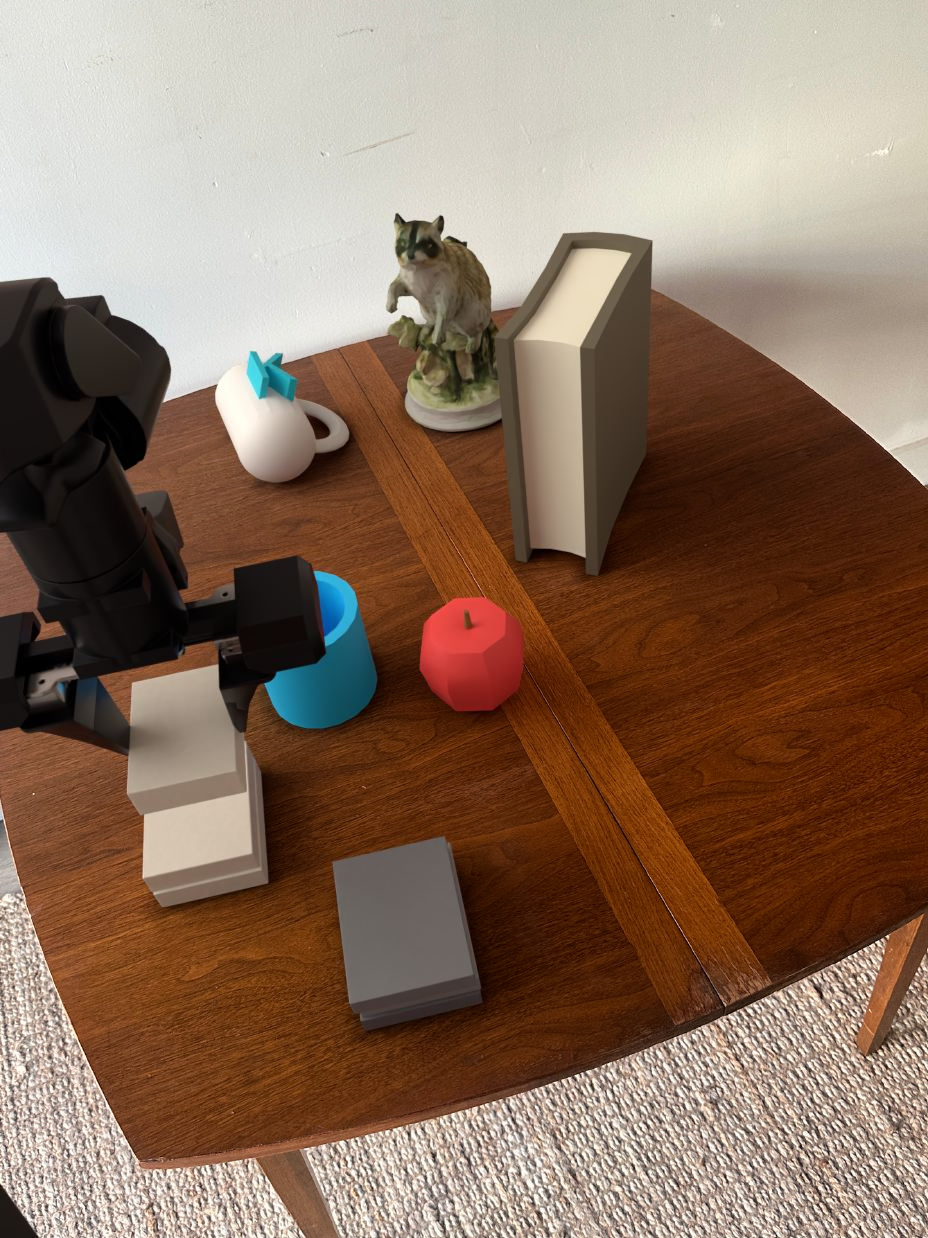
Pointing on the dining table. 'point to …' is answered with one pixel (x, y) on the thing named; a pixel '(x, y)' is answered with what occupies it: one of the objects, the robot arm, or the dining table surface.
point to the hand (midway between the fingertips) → (188, 737)
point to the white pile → (207, 845)
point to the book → (576, 393)
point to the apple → (472, 654)
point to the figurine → (445, 329)
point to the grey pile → (405, 934)
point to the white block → (182, 742)
